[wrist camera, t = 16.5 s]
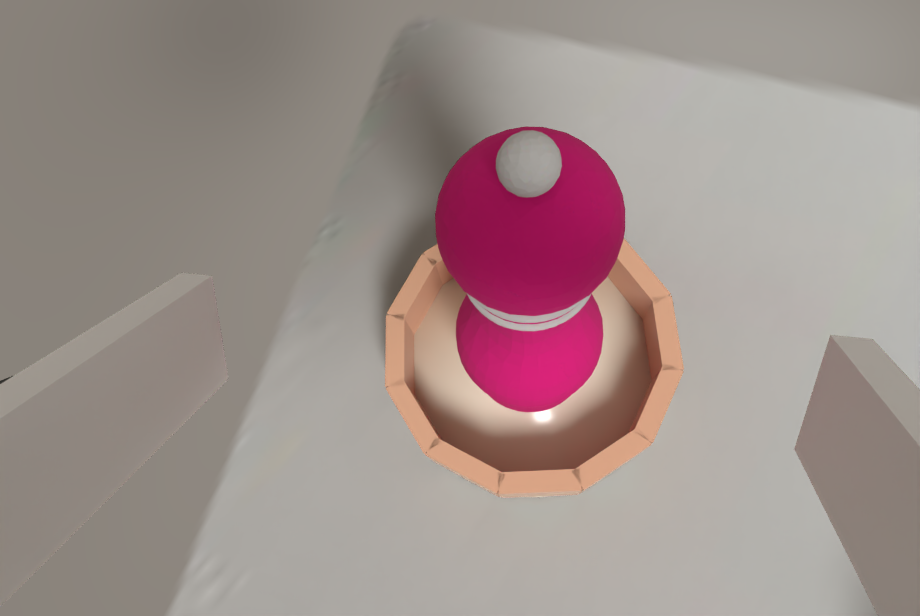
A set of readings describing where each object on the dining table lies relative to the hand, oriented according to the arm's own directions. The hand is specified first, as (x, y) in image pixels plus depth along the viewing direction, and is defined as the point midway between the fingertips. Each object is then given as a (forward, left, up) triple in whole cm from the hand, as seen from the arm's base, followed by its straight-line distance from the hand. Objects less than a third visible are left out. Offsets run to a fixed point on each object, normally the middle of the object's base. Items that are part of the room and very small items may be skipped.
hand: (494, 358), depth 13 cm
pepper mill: (+4, -4, -21) cm, 22 cm away
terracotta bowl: (+5, -4, -21) cm, 22 cm away
